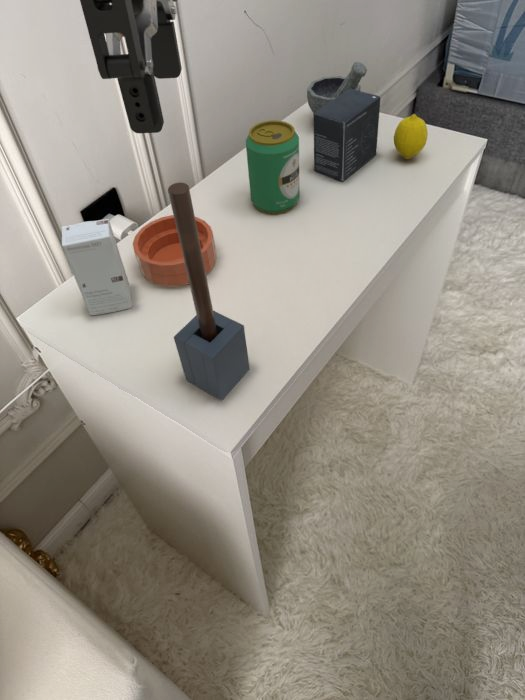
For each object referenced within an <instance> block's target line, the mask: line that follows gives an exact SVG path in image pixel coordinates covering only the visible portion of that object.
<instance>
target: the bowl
mask: <svg viewBox="0 0 525 700" xmlns="http://www.w3.org/2000/svg"><path fill="white" fill-rule="evenodd" d="M195 221H196V226H197V231H198V236H199V241H200V246H201V251H202V257H203V262H204V267H205V272H206V275H207V274H208V273H210V272H211V271H212V269H213V267H214V266H215V264H216V261H217V249H216V243H215V238H214V232H213V229H212V227H211V225H209V223H208V222H207V221H206V220H204V219H201V218H200V217H198V216H195ZM132 248H133V253H134V256H135V258H136V261H137V265H138V268H139V271H140V273H141V275H142V276H143V277H144V278H145V279H146V280H147V281H149V282H151V283H152V284H155V285H160V286H163V287H180V286H184V285H188V284H189V280H188V276H187V271H186V267H185V263H184V258H183V254H182V250H181V245H180V241H179V237H178V232H177V228H176V224H175V219H174V215H173V214H171V215H167V216H162V217H159V218H156V219H155V220H152V221H150V222H148V223H147V224H145V225H144V226H142V227H141V228H140V230H138V232H137V233H136V234H135V236H134V239H133V242H132ZM189 285H190V284H189Z"/></svg>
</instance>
